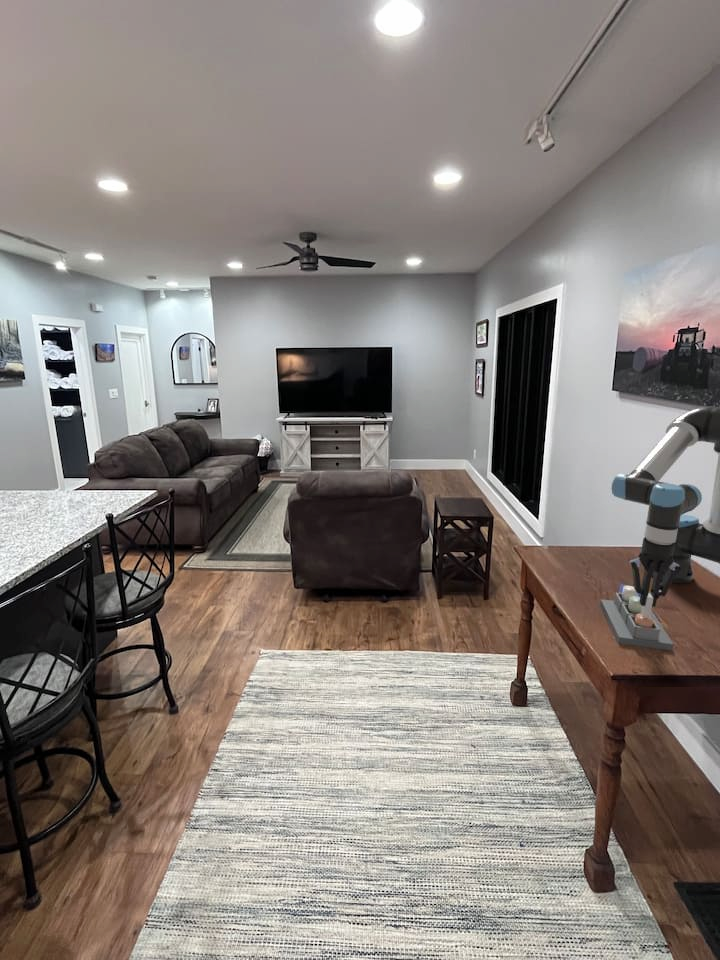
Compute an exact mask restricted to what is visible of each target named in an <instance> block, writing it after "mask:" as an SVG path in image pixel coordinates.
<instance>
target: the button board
mask: <svg viewBox="0 0 720 960" xmlns="http://www.w3.org/2000/svg"><path fill="white" fill-rule="evenodd" d="M621 597H622V593H619V592H615V594H614V599H613V600H611V599H610V600H608V599H600V603H599V605H600V608H601V610H602V612H603V614H604V616H605V618H606V620H607V623H608V625H609V626H610V629H611V631H612V633H613V635H614V637H615V640H616V641H617V644H622V645H628V646H629V645H630V646H636V647H644V648H651V649H659V650H666V651H673V650H674V642H673V641H672V639H671V638H670V636H669V635H668V633H667V632H666V630H665V629H664V628H663V626H662V624H661V623H660V621H659V620H658V618H657V617H656V615H655V614H654V612H653V611H652V610H651V614H650V616H651V617H652V618H653V624H652V628H648V627H640V626H636V625H635V617H636V614H631V613H629V612H628V605H629V602H624V601H622V600H621ZM638 597H639V596H638Z"/></svg>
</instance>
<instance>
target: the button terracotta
mask: <svg viewBox="0 0 720 960" xmlns="http://www.w3.org/2000/svg"><path fill="white" fill-rule="evenodd" d="M652 624H653V618H652V617H651V616H650V618H644V617H643V615H642V614H636V617H635V625H636V626H640V627H648V628H652Z"/></svg>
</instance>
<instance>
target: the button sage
mask: <svg viewBox="0 0 720 960" xmlns="http://www.w3.org/2000/svg"><path fill="white" fill-rule="evenodd" d="M639 601H640V597H635V596H633V597H630V599H629V605H628V612H629V613H631V614H641V609H642V606H641V604H640V602H639Z"/></svg>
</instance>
